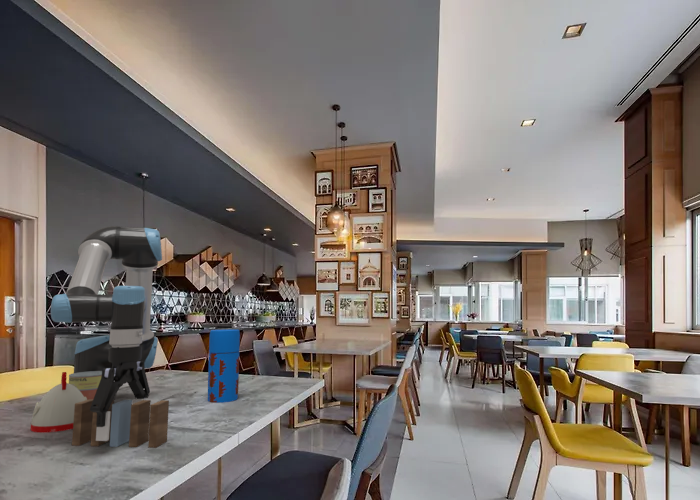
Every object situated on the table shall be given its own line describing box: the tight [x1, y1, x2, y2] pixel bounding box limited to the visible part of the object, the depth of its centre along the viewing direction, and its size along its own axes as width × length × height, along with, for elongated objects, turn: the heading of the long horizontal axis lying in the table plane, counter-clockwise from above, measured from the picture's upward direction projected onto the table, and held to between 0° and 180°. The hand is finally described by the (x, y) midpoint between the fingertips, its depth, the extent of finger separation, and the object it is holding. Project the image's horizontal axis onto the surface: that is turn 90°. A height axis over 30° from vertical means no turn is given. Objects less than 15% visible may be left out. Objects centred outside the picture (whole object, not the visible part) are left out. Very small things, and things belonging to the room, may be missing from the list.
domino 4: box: [128, 399, 151, 448], centre depth 105 cm, size 2×5×10 cm, turn 174°
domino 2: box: [90, 400, 115, 447], centre depth 106 cm, size 2×5×10 cm, turn 174°
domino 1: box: [71, 399, 93, 447], centre depth 107 cm, size 2×5×10 cm, turn 175°
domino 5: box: [147, 399, 170, 449], centre depth 105 cm, size 2×5×10 cm, turn 174°
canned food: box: [68, 371, 102, 400], centre depth 139 cm, size 11×11×12 cm
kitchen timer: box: [30, 371, 87, 434], centre depth 123 cm, size 14×14×15 cm
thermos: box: [207, 329, 241, 404], centre depth 155 cm, size 11×11×25 cm
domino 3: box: [109, 399, 133, 448], centre depth 106 cm, size 2×5×10 cm, turn 175°
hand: (120, 431), depth 105 cm, fingers open, 13 cm apart
